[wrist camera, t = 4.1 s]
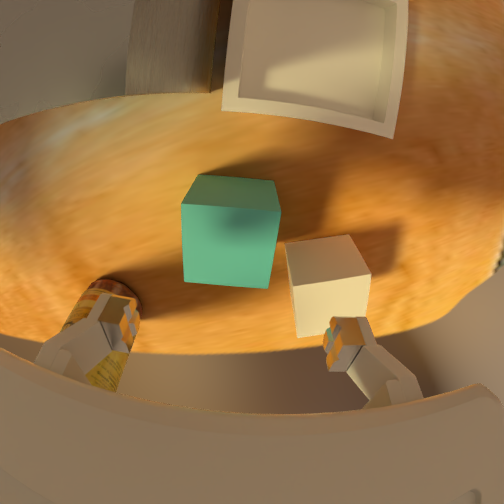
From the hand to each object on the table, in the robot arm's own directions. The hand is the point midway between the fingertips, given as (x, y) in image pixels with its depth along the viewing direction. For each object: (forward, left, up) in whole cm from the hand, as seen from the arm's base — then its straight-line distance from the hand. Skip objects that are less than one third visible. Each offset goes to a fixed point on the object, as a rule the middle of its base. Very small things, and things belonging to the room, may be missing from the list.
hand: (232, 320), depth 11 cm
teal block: (-1, 0, -10) cm, 10 cm away
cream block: (+6, -4, -10) cm, 12 cm away
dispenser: (-7, +13, -10) cm, 18 cm away
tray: (+3, +12, -10) cm, 16 cm away
